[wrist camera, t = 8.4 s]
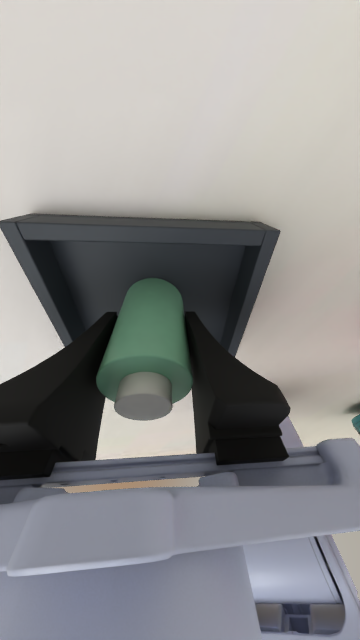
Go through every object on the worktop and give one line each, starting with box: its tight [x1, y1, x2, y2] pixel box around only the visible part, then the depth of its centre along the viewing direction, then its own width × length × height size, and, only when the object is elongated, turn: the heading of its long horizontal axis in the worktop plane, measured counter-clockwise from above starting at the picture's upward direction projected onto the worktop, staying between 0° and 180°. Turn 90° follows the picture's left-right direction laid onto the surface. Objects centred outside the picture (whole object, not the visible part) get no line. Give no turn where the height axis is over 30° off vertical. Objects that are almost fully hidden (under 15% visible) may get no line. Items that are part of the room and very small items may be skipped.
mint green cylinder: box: [96, 278, 193, 420], centre depth 10 cm, size 4×4×8 cm
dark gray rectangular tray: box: [0, 214, 280, 357], centre depth 13 cm, size 14×12×2 cm
